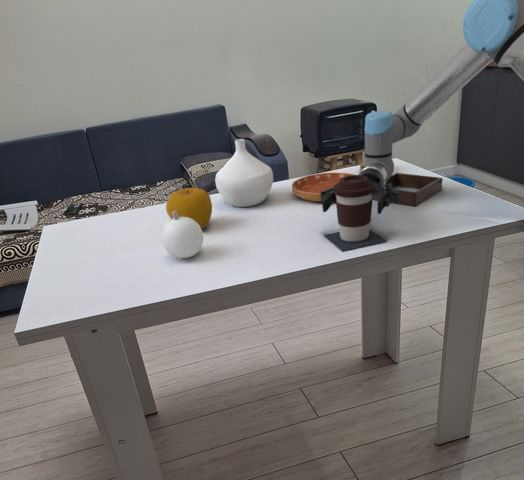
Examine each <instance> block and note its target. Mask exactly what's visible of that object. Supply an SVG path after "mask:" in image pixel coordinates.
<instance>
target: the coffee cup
mask: <svg viewBox="0 0 524 480" xmlns="http://www.w3.org/2000/svg"><path fill="white" fill-rule="evenodd" d="M374 191H375V184H374V183H373V182H372V181H369V179H368V177H366V176H363V175H359V174H354V175H350V176H345V177H343V178H341V179H340V181H339V183H337V184H335V185H334V194H335V195H336V197H337V200H336V201H335V206H336V215H337V223H338V227H339V228H338V229H339V231H340V237H341V239H342V240H344V241H347V242H360V241H363V240H365V239H367V238H368V236H369V229H371V228H370V227H371V222H372V209H373V200H372V193H373V192H374Z"/></svg>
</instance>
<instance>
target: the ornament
mask: <svg viewBox="0 0 524 480" xmlns="http://www.w3.org/2000/svg"><path fill="white" fill-rule="evenodd" d="M161 242H162V245H163V248H164V249H165V250H166V252H167V253H168V254H170V256H172V257H175V258H177V259H188V258H191V257H194V256H195V255H196V254H198V253H199V251H200V250H202V247H203V243H204V233H203V230H202V229H201V228H200V226H199V225H198V223H197V222H196V221H194V220H193V219H191V218H188V217H178V214H177V211H173V219H170V220H168V221H167V222H166V223H165V224H164V226H163V228H162V231H161Z"/></svg>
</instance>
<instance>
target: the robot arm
mask: <svg viewBox="0 0 524 480" xmlns="http://www.w3.org/2000/svg"><path fill="white" fill-rule="evenodd" d="M462 24H463V26H462V33H463V37H464V40H465V42H466V43H465V44H464V45H463V46H462V47H461V48H460V49H459V50H458V51H457V52H455V54H454V55H453V56H452V57H450V59H449V60H448V61H447V62H446V63H444V65H443V66H441V67H440V68H439V70H438V71H436V72H435V74H433V76H431V77H430V78H429V79H428V80H427V82H425V83H424V84H423V85H422V86H421V87H420V88H419V89H418V90H417V91H416V92H415V93H414V94H413V95H412V96H411V97H409V99H408V100H407V101H406V102H405V103H404V104H403V105H402V106H401V107H399V109H398V110H397V111H396V112H394V113H392V112H391V111H390V110H376V111H372V112H369V113H367V114H366V115H365V118H364V120H365V121H364V158H365V167H364V169H363V170H362V171H361V170H360V172H359V174H358V175H363V176H366V177H368V179H369V181H372V182H373V183H374V184H375V191H374V192H373V193H372V198H373V199H376V198H377V199H378V200H379V201H377V205H376V206H377V209H376V210H377V212H376V213H377V214H378V215H381V214H382V212H383V211H384V209H385V207H386V208H387V207H389V206H390V205H392V203H391V202H394V203H393V204H397V205H399V204H398V203H399V192H398V191H397V190H396V189H397V188H396V187H393V186H392V183H387V184H386V182H387V181H388V180H389V179H390V177H391V176H392V175H393V174H394V170H395V162H394V160H393V145H394V144H396V143H398V142H400V141H402V140H405V139H407V138H410V137H412V136H413V135H415V134H416V133H417V132H418V131H419V130H420V128H421V126H422V125H423V124H424V123H425V122H426V121H427V120H428V119H429V118H431V117H432V115H434V114H435V113H436V112H437V111H438V110H439V109H440V108H442V107H443V106H444V105H445V104H446V103H447V102H449V100H450V99H452V98H453V97H454V96H455V95H456V94H457V93H458V92H459V91H460V90H461V89H463V88H464V87H465V86H466V85H468V83H469V82H470V81H471V80H472V79H474V78H475V77H476V76H477V75H478V74H479V73H480V72H481V71H482V70H484V69H485V68H486V67H487V66H488V65H489V64H490V63H492V62H494V63H495V64H496V65H497V66H498V67H499V68H505V67H510V68H511V69H512V70H513V71H514V72H515V73H516V75H517V76H518V77H519V78H520V79H521V80H522V81H523V82H524V0H472V2H470V4H469V6H468V7H467V9H466V12H465V14H464V18H463V23H462ZM384 185H385V186H384ZM320 198H321V202H320V203H322V213H326V212H327V211H329V209H330V208H331V206H333V204H334V202H336V200H337V197H336V195H335V194H334V187H331V188H328V189H326V190H323V191H321V192H320Z"/></svg>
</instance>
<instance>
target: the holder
mask: <svg viewBox="0 0 524 480" xmlns="http://www.w3.org/2000/svg"><path fill="white" fill-rule="evenodd" d="M443 179H444V178H443V177H440V176H439V177H437V176H428V175H420V174H412V173H403V172H395V173H393V174H392V176H391V177H390V179H389V180H388V181H387V182H386V184H387V183H392V186H393V187H394V188H395V189H396V190H397V191H398V192H399V203H398V204H397V205H403V206H409V207H415V208H416V207H418V206H420V205H421V204H423V203H425V202H426V201H428V200H429V199H431V198H433V197H435V196H437V195H438V194H439V193H441V192H442V191H443ZM384 186H385V185H384ZM396 187H400V188H401V187H402V188H407V189H415V191H414V190H405V189H399V188H398V189H397V188H396ZM372 201H377V202H378V201H379V200H378V199H377V198H376V199H373V198H372ZM391 204H395V203H394V202H391Z"/></svg>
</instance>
